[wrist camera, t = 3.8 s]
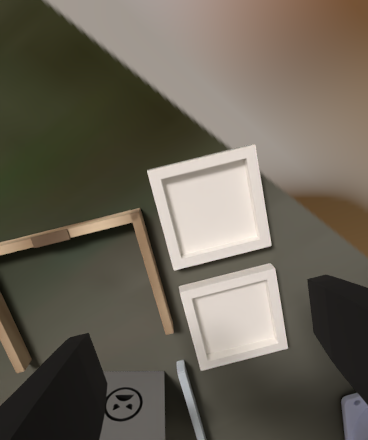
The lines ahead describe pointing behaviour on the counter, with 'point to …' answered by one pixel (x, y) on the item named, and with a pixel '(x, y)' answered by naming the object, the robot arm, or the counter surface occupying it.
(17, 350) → the oak pen
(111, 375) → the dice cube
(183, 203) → the dish
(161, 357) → the counter surface
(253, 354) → the dish
